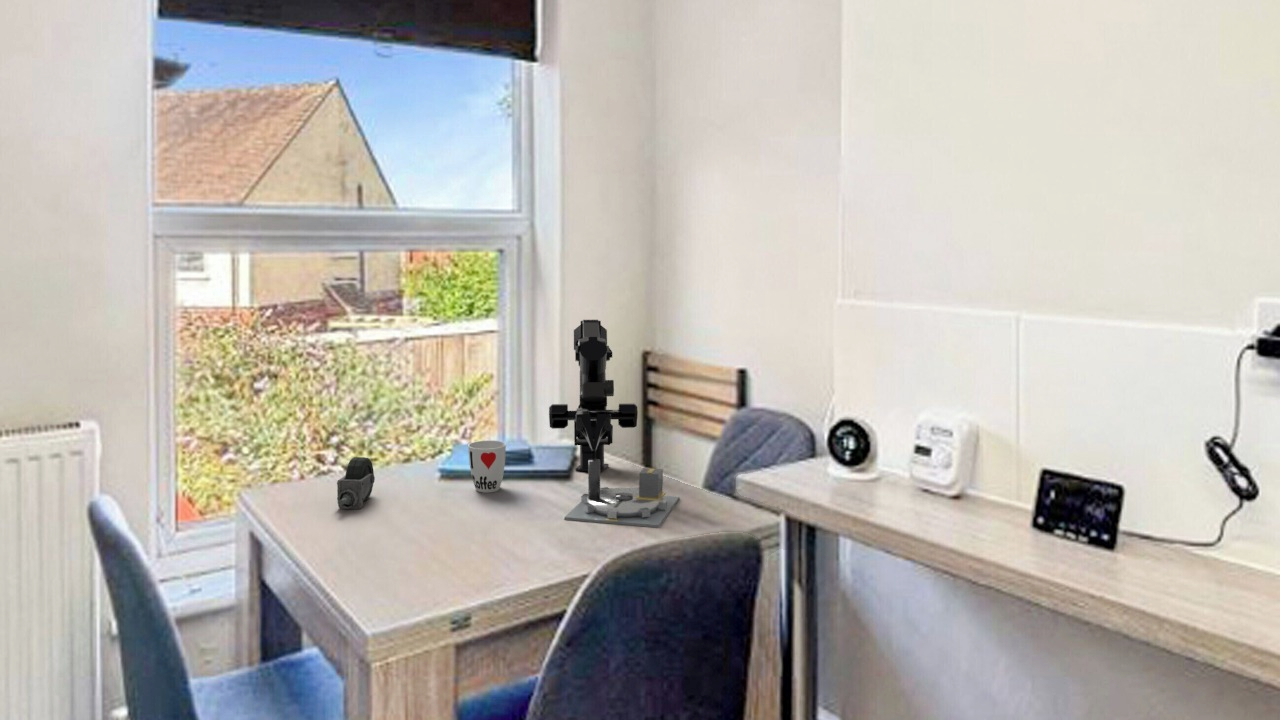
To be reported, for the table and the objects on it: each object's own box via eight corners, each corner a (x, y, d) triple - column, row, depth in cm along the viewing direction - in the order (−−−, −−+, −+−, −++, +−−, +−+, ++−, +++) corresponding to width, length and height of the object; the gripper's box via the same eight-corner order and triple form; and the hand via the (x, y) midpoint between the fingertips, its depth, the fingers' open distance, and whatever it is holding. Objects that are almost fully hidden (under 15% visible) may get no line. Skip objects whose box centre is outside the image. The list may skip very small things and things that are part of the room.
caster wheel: (354, 498, 194) (327, 513, 179) (354, 453, 194) (326, 465, 179) (380, 499, 194) (355, 513, 179) (380, 454, 194) (355, 465, 179)
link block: (643, 491, 188) (643, 467, 187) (662, 492, 187) (662, 468, 186) (639, 496, 184) (639, 472, 184) (658, 498, 183) (658, 473, 183)
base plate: (593, 492, 196) (593, 489, 196) (679, 499, 191) (679, 496, 191) (564, 519, 178) (564, 516, 178) (658, 527, 173) (658, 524, 173)
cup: (462, 492, 195) (461, 447, 194) (479, 482, 203) (478, 439, 202) (496, 496, 193) (495, 450, 192) (512, 485, 201) (511, 441, 199)
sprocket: (595, 490, 195) (595, 446, 194) (675, 496, 191) (675, 452, 189) (568, 514, 178) (568, 467, 177) (656, 522, 174) (656, 474, 172)
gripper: (548, 366, 191) (547, 429, 182) (637, 366, 192) (640, 428, 183) (550, 397, 200) (549, 458, 190) (634, 396, 201) (637, 456, 192)
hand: (593, 449), depth 189 cm, fingers closed
